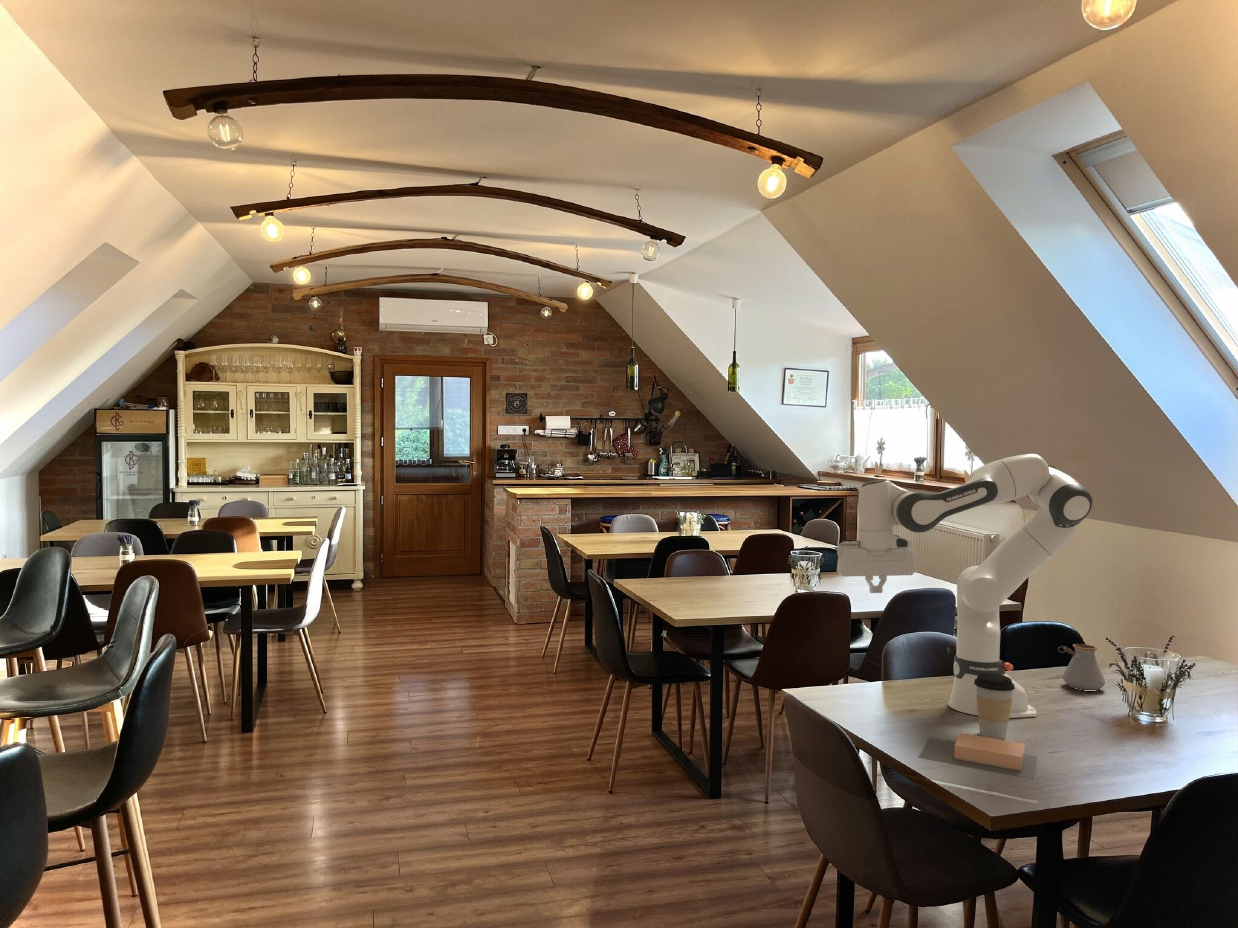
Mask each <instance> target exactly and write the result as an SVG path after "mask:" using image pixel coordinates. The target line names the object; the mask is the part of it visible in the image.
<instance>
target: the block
mask: <svg viewBox="0 0 1238 928" xmlns="http://www.w3.org/2000/svg"><path fill="white" fill-rule="evenodd" d="M955 742H956V743H955V751H954V758H956V760H962V761H967V762H972V763H978V764H983V765H988V766H994V767H999V768H1005V769H1010V770H1015V771H1020V770H1021V769H1022V764H1023V759H1024V754H1025V746H1026V745H1025V743H1023V742H1017V741H1011V740H1004V739H994V738H988V737H984V736H982V735H975V734H969V733H966V732H965V733H963V732H960V733H959V735H958V737H957V739H956V741H955Z"/></svg>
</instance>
